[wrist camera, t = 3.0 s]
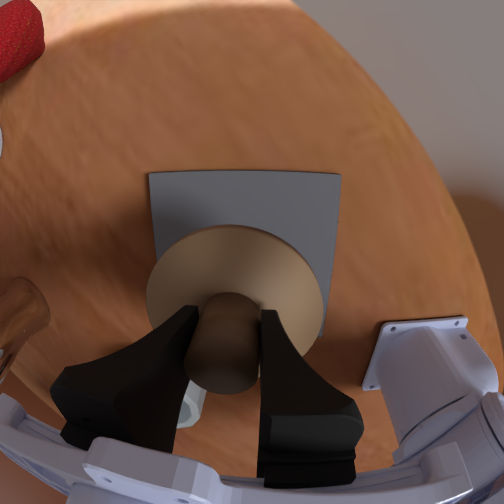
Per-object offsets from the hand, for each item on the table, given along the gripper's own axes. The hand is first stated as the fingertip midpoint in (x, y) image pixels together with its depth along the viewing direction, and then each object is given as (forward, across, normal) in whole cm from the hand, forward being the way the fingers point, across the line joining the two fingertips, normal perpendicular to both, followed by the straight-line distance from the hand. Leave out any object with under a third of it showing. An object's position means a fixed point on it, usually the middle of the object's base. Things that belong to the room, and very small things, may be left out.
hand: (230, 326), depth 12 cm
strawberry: (+8, +17, -18) cm, 26 cm away
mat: (+7, 0, 0) cm, 7 cm away
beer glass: (+8, +23, +6) cm, 25 cm away
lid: (+1, 0, 0) cm, 1 cm away
